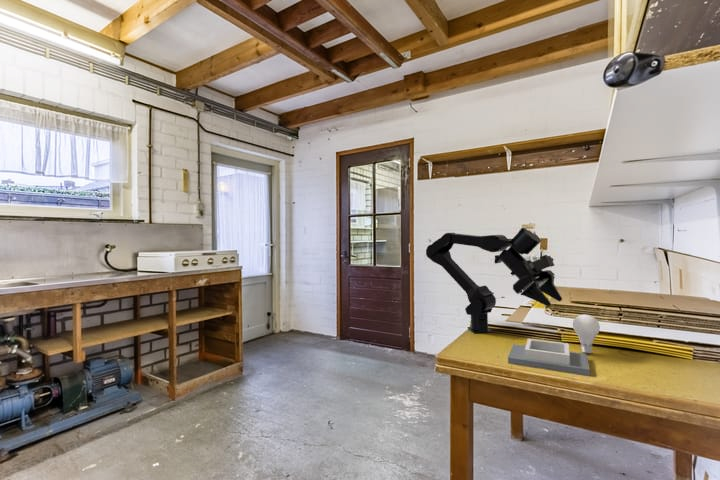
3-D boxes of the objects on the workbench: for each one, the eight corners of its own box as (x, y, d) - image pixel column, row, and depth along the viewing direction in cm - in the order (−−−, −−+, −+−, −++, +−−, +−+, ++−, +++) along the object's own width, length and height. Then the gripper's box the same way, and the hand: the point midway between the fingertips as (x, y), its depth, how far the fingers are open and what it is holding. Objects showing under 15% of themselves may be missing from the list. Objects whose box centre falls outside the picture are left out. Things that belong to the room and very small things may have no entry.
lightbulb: (576, 356, 93) (575, 316, 93) (570, 348, 99) (570, 311, 99) (603, 358, 91) (602, 318, 90) (596, 350, 96) (595, 312, 96)
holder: (508, 363, 89) (507, 348, 89) (513, 349, 100) (513, 336, 100) (589, 376, 80) (589, 359, 80) (586, 359, 90) (585, 344, 90)
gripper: (522, 248, 98) (565, 289, 90) (547, 245, 110) (587, 281, 102) (497, 273, 104) (535, 314, 96) (523, 268, 116) (559, 304, 108)
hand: (555, 302), depth 100 cm, fingers open, 9 cm apart
